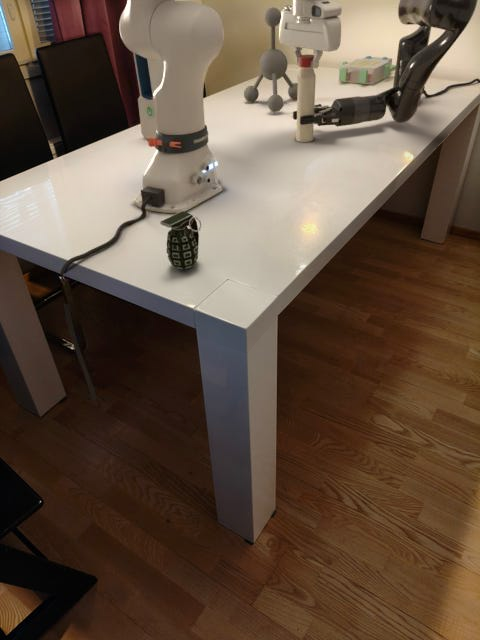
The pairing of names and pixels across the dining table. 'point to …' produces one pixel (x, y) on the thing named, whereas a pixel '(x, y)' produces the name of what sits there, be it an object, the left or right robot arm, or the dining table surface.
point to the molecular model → (272, 67)
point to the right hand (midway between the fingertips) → (297, 118)
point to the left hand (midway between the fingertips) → (307, 66)
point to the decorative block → (366, 70)
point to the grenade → (182, 240)
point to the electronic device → (148, 92)
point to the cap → (305, 60)
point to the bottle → (305, 103)
